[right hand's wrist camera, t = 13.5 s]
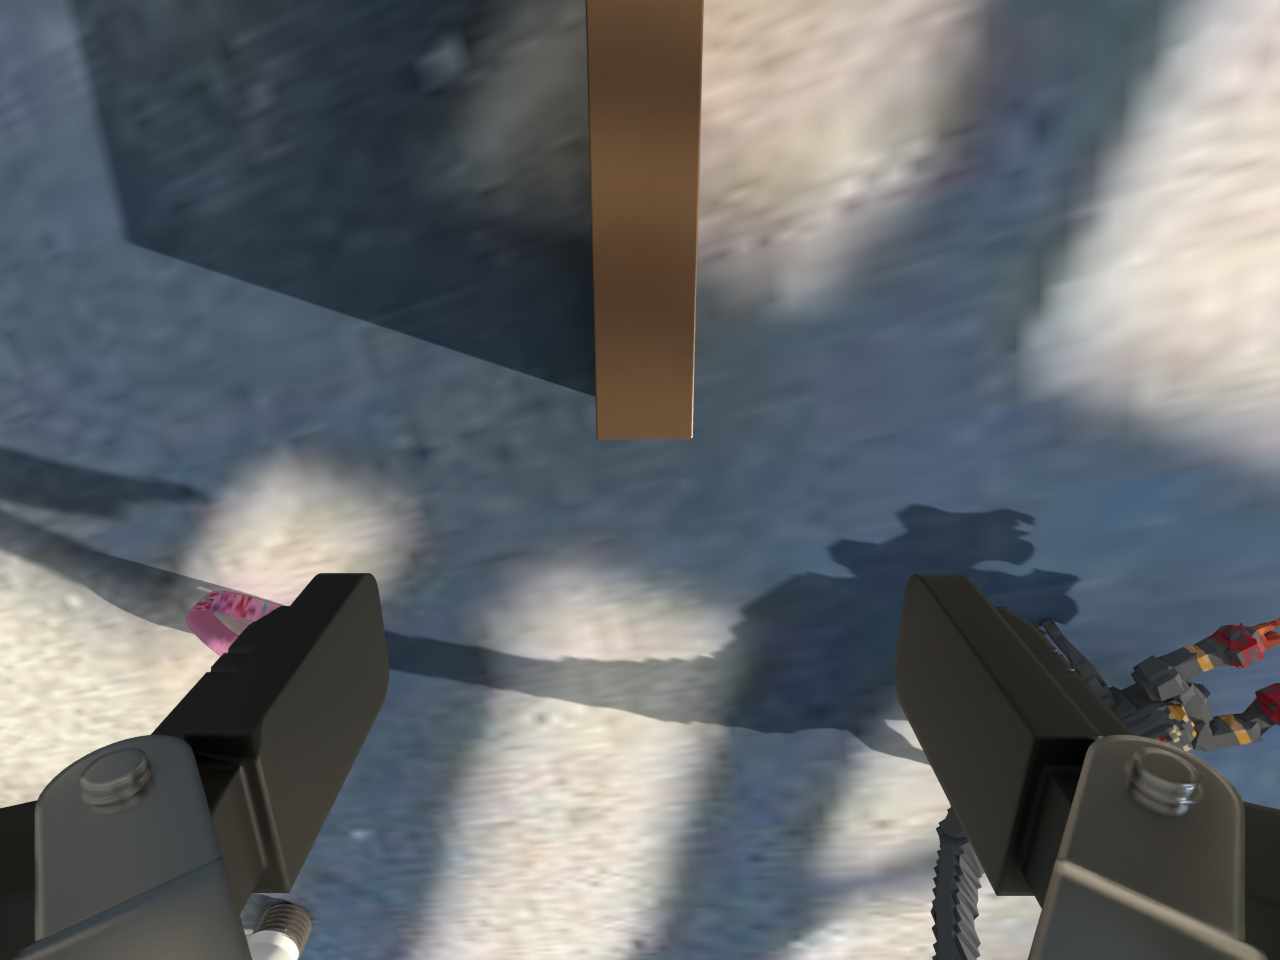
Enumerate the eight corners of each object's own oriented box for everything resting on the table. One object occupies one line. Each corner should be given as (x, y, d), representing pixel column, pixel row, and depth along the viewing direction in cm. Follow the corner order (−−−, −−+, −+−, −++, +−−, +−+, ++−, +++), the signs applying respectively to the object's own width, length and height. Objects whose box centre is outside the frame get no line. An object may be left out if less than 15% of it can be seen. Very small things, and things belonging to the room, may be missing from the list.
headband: (197, 632, 46) (176, 652, 44) (210, 580, 45) (189, 598, 43) (367, 688, 48) (355, 710, 46) (384, 639, 46) (372, 660, 44)
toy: (826, 739, 49) (927, 1030, 32) (1219, 527, 44) (1590, 744, 27) (920, 860, 53) (1053, 1175, 36) (1290, 680, 48) (1653, 953, 31)
